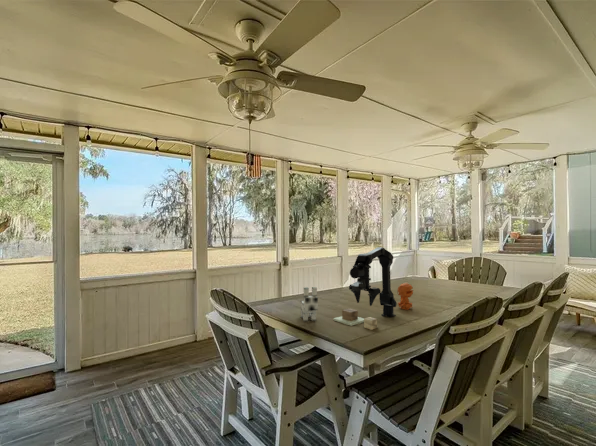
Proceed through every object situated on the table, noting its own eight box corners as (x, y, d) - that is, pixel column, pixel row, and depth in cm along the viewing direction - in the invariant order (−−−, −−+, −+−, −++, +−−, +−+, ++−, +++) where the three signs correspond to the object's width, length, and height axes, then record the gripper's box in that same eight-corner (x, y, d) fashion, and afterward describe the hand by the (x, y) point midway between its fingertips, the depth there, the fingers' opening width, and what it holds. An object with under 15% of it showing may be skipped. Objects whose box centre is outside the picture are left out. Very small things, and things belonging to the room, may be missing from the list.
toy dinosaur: (416, 310, 209) (416, 283, 209) (400, 310, 209) (399, 283, 209) (410, 306, 220) (410, 280, 220) (395, 306, 220) (395, 280, 220)
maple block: (369, 325, 177) (369, 317, 177) (377, 328, 173) (377, 318, 173) (364, 327, 173) (364, 318, 174) (371, 329, 170) (371, 320, 170)
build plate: (349, 316, 196) (349, 314, 196) (366, 321, 185) (366, 319, 185) (333, 320, 187) (333, 318, 187) (351, 325, 176) (351, 323, 176)
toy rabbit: (311, 315, 199) (311, 283, 199) (318, 323, 181) (317, 288, 182) (300, 315, 197) (300, 283, 198) (305, 323, 180) (305, 289, 181)
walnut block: (349, 316, 191) (349, 308, 191) (357, 319, 186) (357, 310, 186) (342, 318, 187) (342, 310, 187) (350, 321, 182) (350, 312, 182)
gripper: (342, 275, 180) (342, 303, 179) (367, 280, 165) (367, 309, 164) (355, 274, 186) (355, 300, 186) (381, 278, 171) (381, 306, 171)
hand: (364, 304), depth 177 cm, fingers open, 9 cm apart
